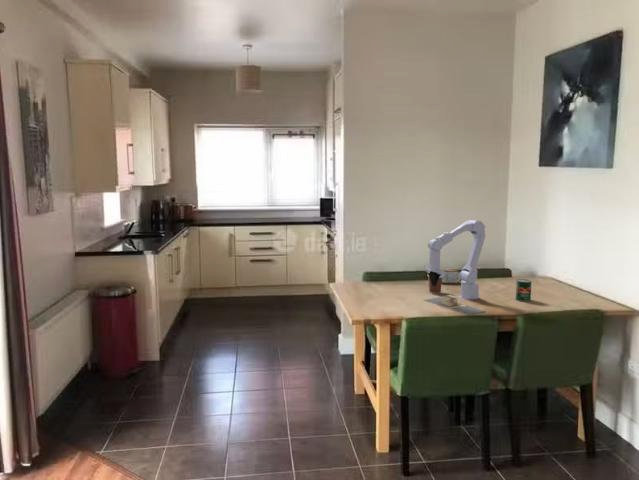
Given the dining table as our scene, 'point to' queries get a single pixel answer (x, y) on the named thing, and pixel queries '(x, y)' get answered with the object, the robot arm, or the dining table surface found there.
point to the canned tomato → (523, 290)
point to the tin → (451, 276)
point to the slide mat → (457, 307)
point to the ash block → (449, 300)
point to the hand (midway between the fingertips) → (434, 285)
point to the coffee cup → (436, 288)
